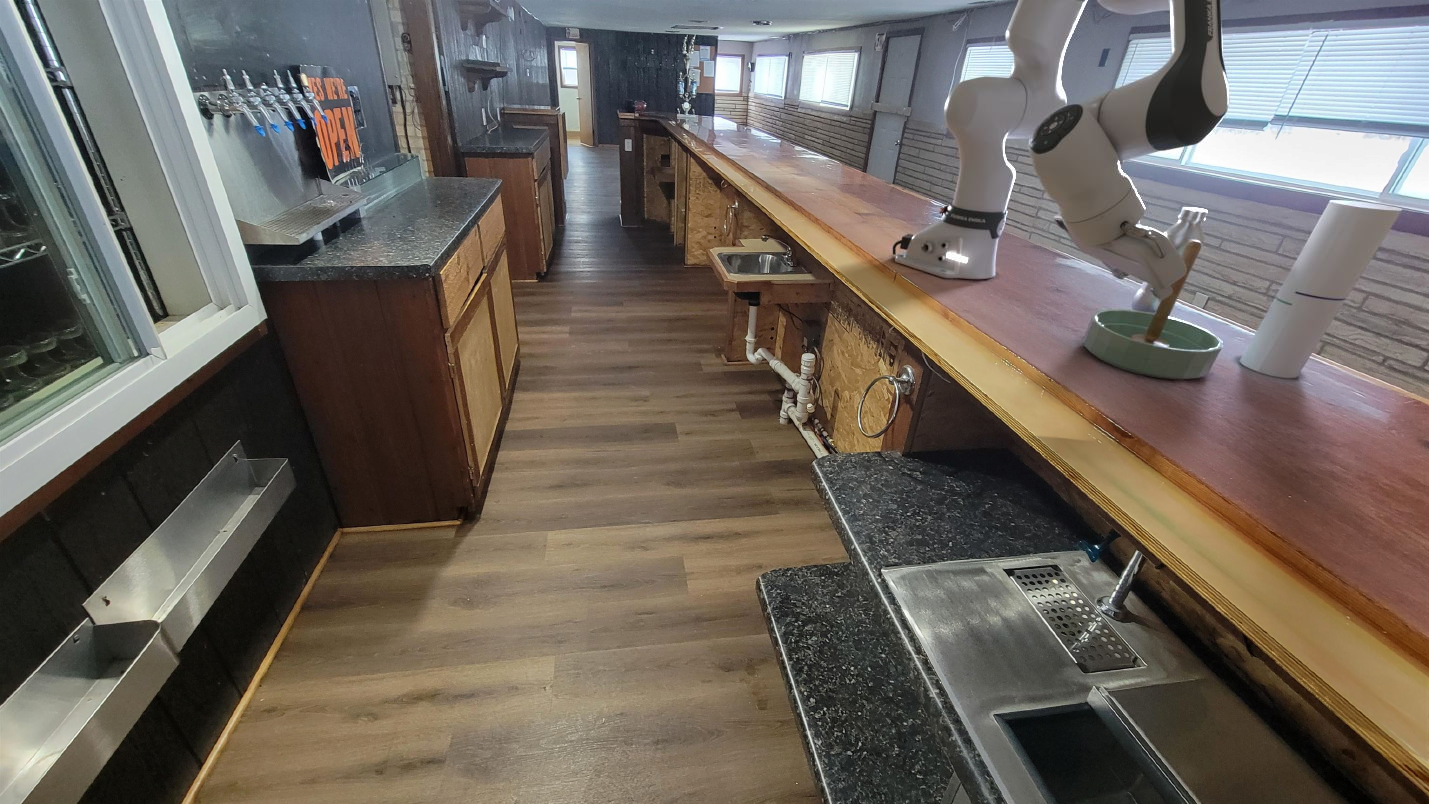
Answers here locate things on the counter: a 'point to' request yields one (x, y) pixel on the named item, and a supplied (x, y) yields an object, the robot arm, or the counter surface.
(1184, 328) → the bowl
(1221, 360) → the counter surface
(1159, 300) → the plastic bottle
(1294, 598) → the counter surface
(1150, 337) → the brown stick
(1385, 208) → the cylindrical container
